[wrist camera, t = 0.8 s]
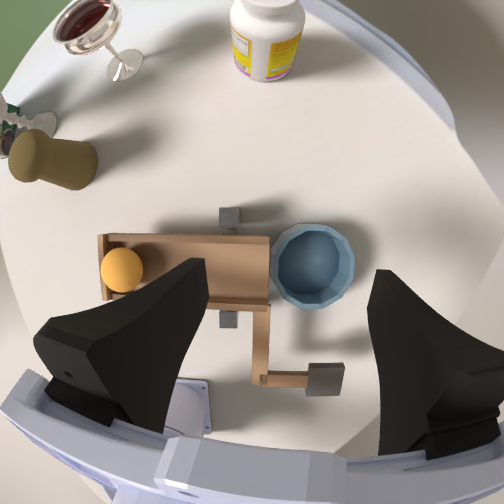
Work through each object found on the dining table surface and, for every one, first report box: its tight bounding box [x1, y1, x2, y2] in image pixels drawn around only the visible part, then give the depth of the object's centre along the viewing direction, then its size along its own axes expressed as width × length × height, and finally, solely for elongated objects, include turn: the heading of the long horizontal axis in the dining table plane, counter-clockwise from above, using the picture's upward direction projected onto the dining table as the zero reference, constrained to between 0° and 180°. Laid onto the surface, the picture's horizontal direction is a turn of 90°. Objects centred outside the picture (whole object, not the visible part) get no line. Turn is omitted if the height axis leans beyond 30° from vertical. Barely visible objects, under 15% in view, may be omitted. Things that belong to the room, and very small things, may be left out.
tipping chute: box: [98, 229, 345, 396], centre depth 25 cm, size 16×23×3 cm
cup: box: [269, 223, 355, 309], centre depth 28 cm, size 8×8×4 cm
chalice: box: [0, 92, 57, 138], centre depth 18 cm, size 7×7×18 cm
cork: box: [8, 128, 98, 190], centre depth 23 cm, size 6×6×11 cm
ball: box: [101, 248, 143, 292], centre depth 24 cm, size 4×4×4 cm
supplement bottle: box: [230, 0, 305, 82], centre depth 21 cm, size 7×7×13 cm
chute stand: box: [219, 208, 240, 328], centre depth 27 cm, size 11×2×6 cm, turn 179°
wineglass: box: [53, 0, 143, 81], centre depth 21 cm, size 7×7×12 cm
